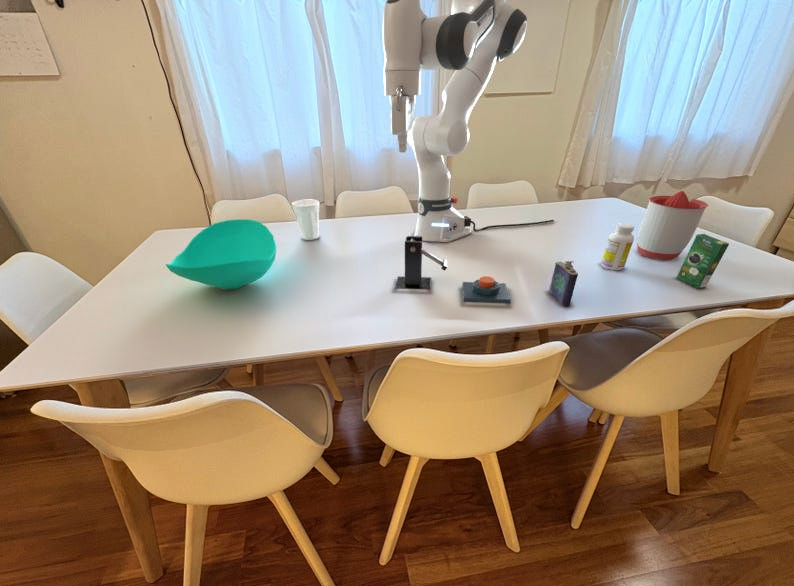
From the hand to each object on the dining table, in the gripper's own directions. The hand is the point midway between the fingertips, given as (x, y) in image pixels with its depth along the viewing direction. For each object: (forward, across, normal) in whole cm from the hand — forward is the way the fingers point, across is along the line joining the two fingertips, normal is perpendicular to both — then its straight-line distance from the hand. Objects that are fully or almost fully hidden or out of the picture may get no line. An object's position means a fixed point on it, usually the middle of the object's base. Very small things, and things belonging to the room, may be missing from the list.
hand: (403, 151), depth 98 cm
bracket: (+33, -11, -4) cm, 35 cm away
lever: (+24, -11, -7) cm, 28 cm away
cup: (+33, +29, +39) cm, 59 cm away
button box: (+33, -17, -24) cm, 44 cm away
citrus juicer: (+33, +21, -85) cm, 93 cm away
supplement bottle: (+33, +8, -66) cm, 74 cm away
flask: (+33, -16, -44) cm, 57 cm away
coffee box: (+33, -3, -84) cm, 90 cm away
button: (+29, -17, -24) cm, 41 cm away
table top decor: (+33, -13, +50) cm, 61 cm away
